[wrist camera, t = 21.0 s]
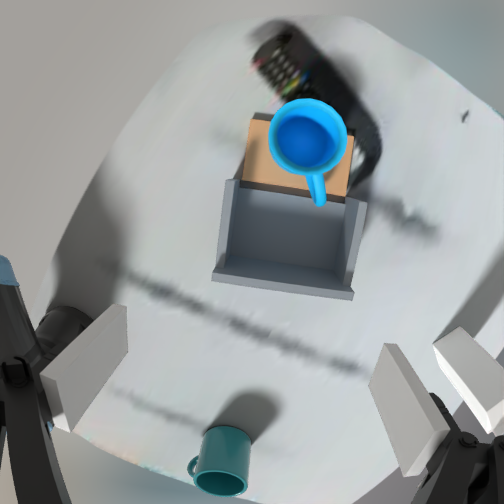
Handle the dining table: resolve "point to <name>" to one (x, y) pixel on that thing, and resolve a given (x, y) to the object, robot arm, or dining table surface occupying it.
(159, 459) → the dining table surface
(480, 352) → the milk
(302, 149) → the mug
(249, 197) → the box
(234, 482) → the cup
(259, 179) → the panel
